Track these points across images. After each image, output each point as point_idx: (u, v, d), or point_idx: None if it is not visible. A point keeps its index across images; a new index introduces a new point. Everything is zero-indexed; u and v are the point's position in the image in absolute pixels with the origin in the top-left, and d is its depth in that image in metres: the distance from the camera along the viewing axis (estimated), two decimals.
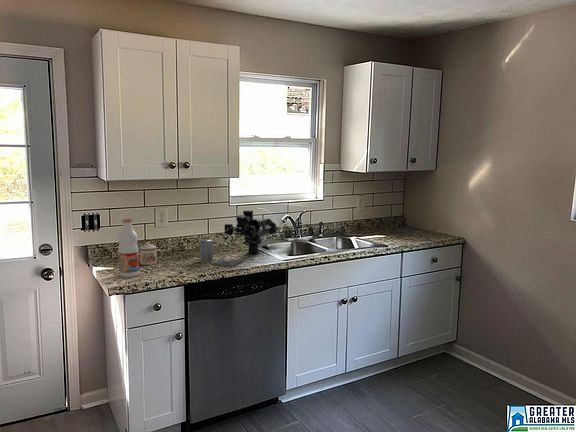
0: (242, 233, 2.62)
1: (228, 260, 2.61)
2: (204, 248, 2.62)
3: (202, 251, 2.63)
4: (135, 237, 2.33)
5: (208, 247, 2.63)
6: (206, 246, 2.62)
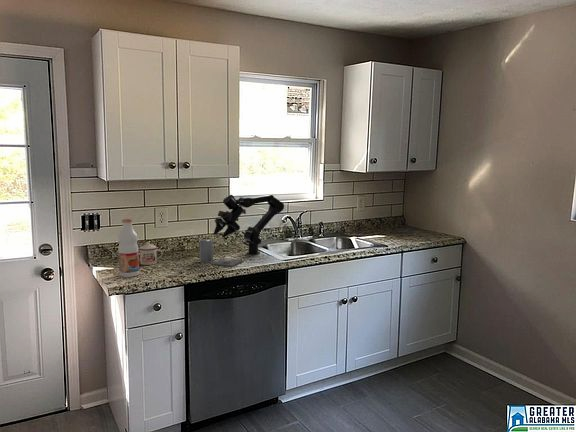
0: (225, 234, 2.67)
1: (228, 260, 2.61)
2: (204, 248, 2.62)
3: (202, 251, 2.63)
4: (135, 237, 2.33)
5: (208, 247, 2.63)
6: (206, 246, 2.62)
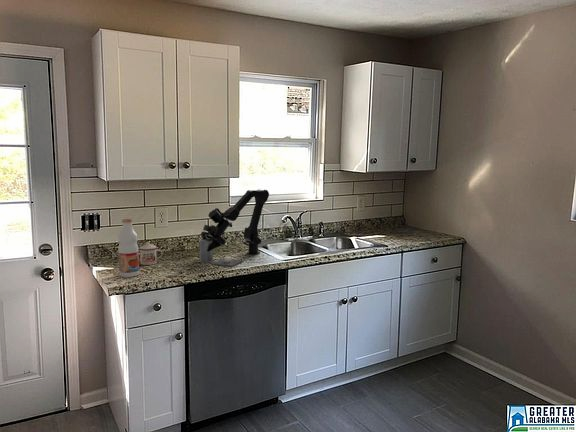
0: (210, 249, 2.63)
1: (228, 260, 2.61)
2: (204, 248, 2.62)
3: (202, 251, 2.63)
4: (135, 237, 2.33)
5: (207, 247, 2.63)
6: (206, 246, 2.62)
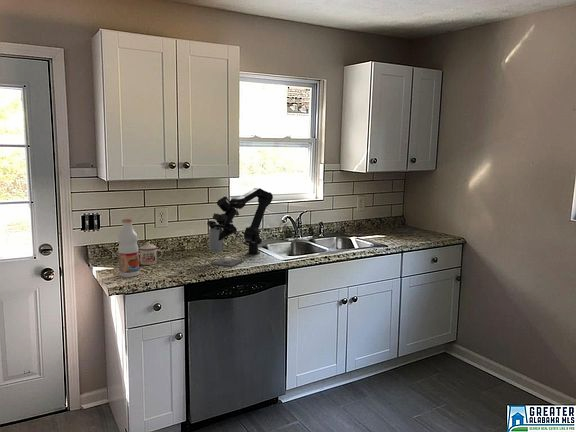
0: (221, 237, 2.60)
1: (228, 260, 2.61)
2: (215, 237, 2.59)
3: (213, 240, 2.59)
4: (135, 237, 2.33)
5: (219, 236, 2.59)
6: (217, 235, 2.59)
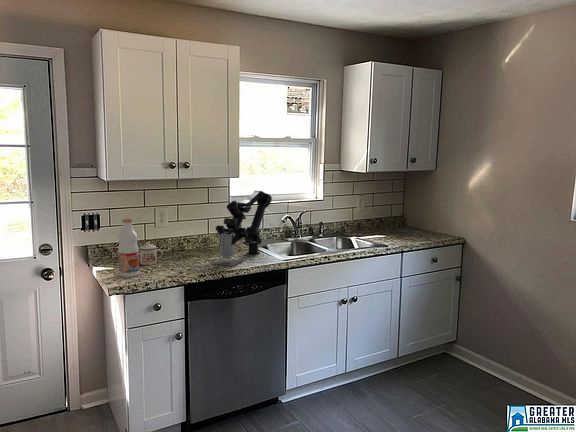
0: (234, 242, 2.59)
1: (228, 260, 2.61)
2: (228, 242, 2.58)
3: (226, 245, 2.58)
4: (135, 237, 2.33)
5: None
6: (230, 240, 2.58)
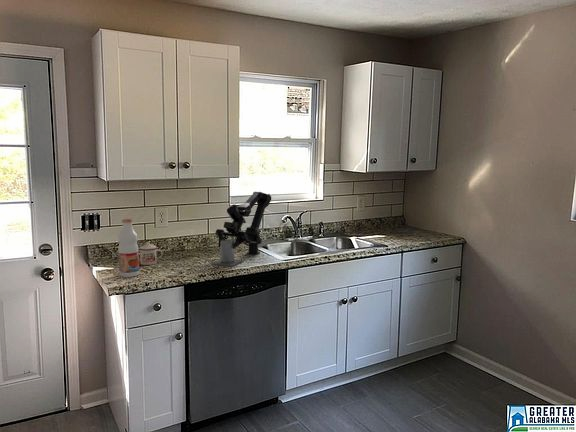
0: (235, 246, 2.59)
1: None
2: (228, 248, 2.58)
3: (226, 252, 2.59)
4: (135, 237, 2.33)
5: (232, 247, 2.60)
6: (230, 247, 2.59)
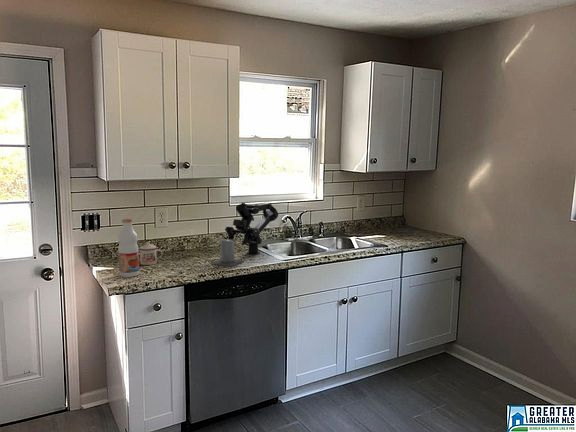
0: (244, 242, 2.68)
1: None
2: (228, 248, 2.58)
3: (226, 252, 2.59)
4: (135, 237, 2.33)
5: (232, 247, 2.60)
6: (230, 247, 2.59)
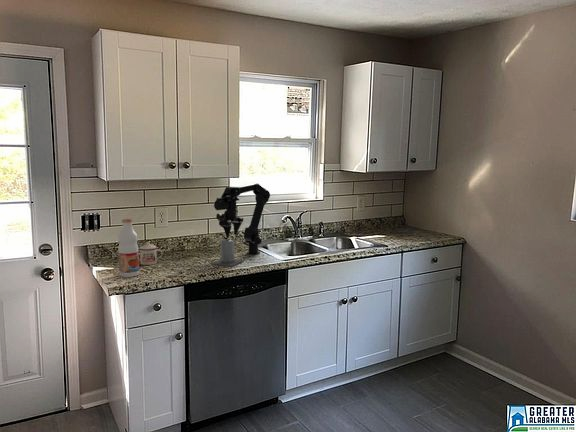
0: (227, 234, 2.69)
1: None
2: (228, 248, 2.58)
3: (226, 252, 2.59)
4: (135, 237, 2.33)
5: (232, 247, 2.60)
6: (230, 247, 2.59)
